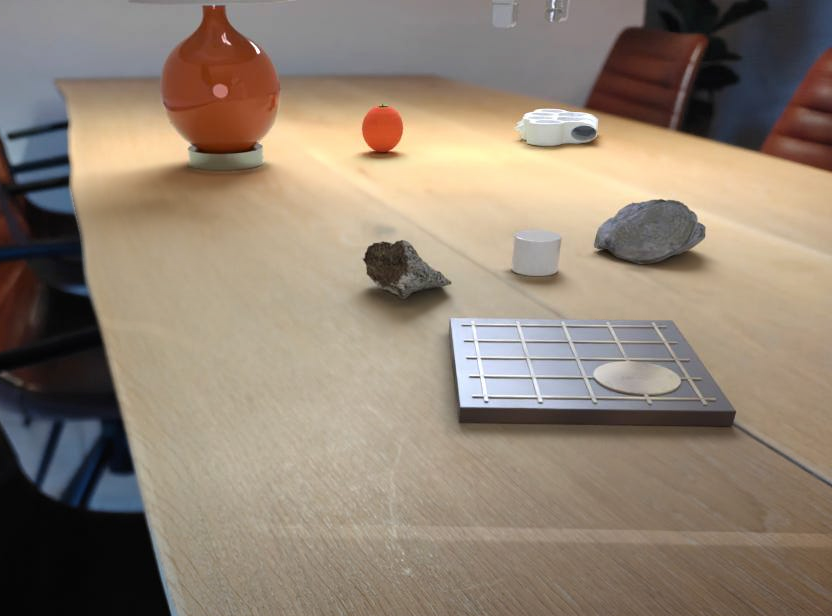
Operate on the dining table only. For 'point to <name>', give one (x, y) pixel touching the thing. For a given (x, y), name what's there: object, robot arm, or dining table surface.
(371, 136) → the clementine
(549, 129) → the white flat lobed block
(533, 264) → the gray cylinder
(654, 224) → the fossilized seashell
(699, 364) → the game board
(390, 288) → the rock sample
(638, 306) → the dining table surface
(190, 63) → the lamp
